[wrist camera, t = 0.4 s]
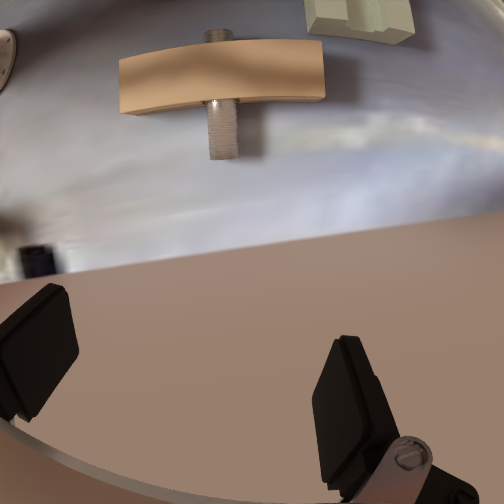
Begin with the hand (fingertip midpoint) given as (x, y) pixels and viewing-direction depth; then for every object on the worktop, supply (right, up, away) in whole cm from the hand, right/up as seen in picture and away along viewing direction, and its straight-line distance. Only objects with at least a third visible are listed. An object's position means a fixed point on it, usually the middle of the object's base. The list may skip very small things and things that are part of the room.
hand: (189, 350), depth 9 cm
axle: (-1, +20, +19) cm, 28 cm away
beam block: (-1, +22, +19) cm, 29 cm away
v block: (+13, +33, +14) cm, 38 cm away
